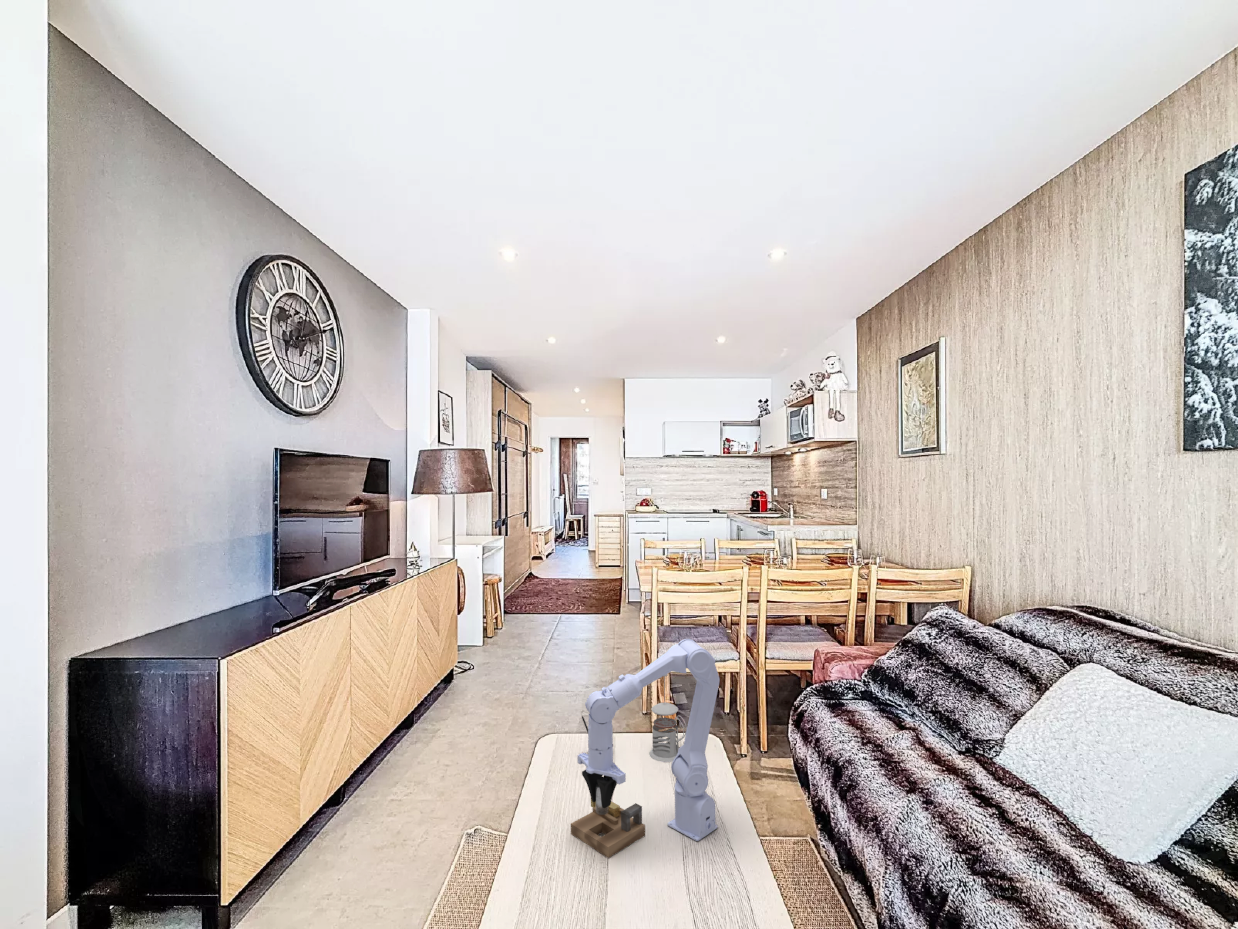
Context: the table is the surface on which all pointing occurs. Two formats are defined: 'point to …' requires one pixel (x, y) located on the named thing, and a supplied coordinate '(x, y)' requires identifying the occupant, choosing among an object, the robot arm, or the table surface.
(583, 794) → the table surface
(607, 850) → the dock
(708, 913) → the table surface
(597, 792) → the cylinder
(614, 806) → the lock pin
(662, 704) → the french press
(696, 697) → the robot arm
